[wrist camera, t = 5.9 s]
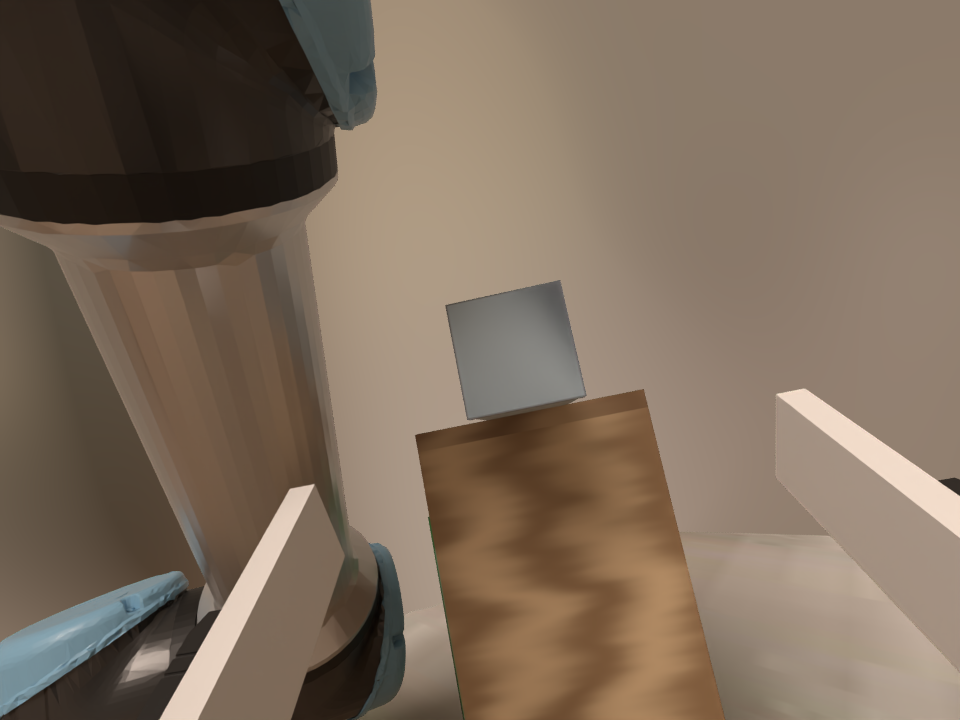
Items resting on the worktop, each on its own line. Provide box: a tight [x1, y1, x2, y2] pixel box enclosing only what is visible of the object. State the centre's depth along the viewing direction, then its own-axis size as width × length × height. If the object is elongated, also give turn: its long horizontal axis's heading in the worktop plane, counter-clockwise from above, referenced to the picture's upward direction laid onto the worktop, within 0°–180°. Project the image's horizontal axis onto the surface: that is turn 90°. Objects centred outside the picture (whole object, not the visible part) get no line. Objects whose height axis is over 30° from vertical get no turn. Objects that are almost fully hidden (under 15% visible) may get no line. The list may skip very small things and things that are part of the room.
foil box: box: [446, 280, 586, 420], centre depth 31 cm, size 5×24×5 cm, turn 174°
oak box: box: [415, 389, 725, 720], centre depth 30 cm, size 13×10×30 cm
